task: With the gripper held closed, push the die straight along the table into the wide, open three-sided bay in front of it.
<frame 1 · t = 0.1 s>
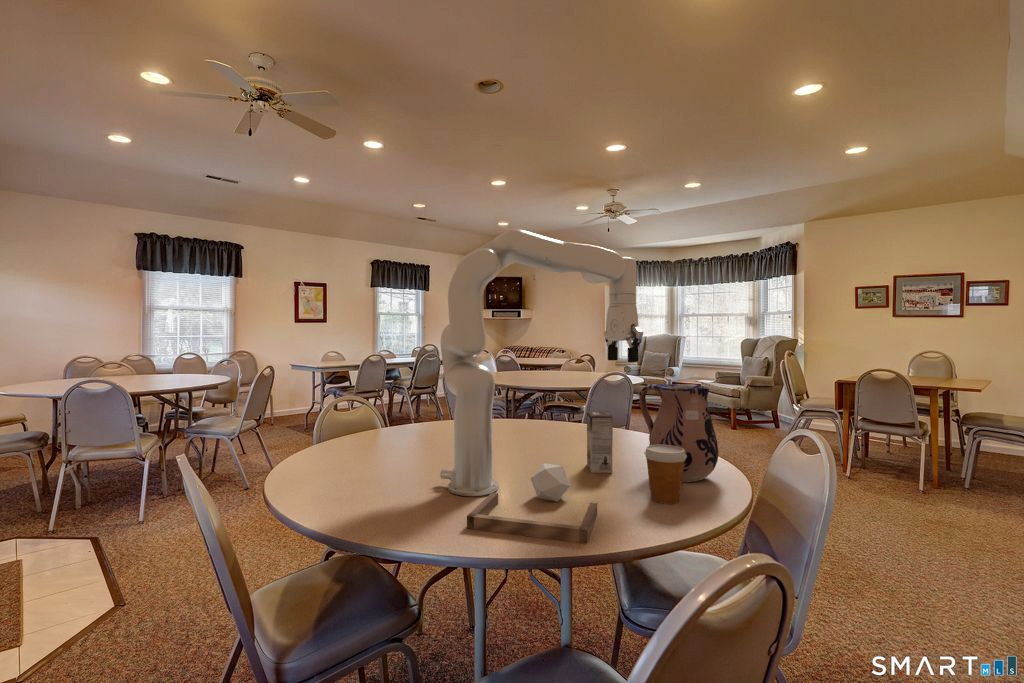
hand: (622, 361, 139), 31 cm above the table, tool pointing down, fingers open, 9 cm apart
disposable coffee cup: (665, 500, 114), on the table
coffee box: (599, 469, 140), on the table
bay: (534, 521, 101), on the table
ceramic pitcher: (676, 477, 132), on the table
die: (550, 499, 115), on the table
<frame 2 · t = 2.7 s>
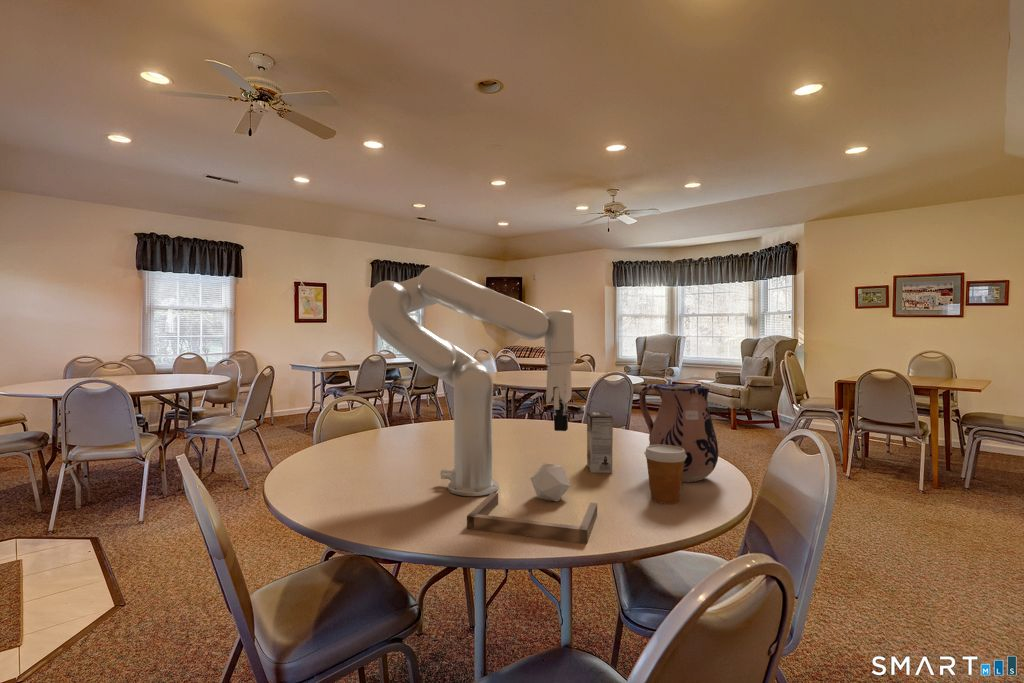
hand: (561, 430, 124), 14 cm above the table, tool pointing down, fingers closed
nothing on the table moved.
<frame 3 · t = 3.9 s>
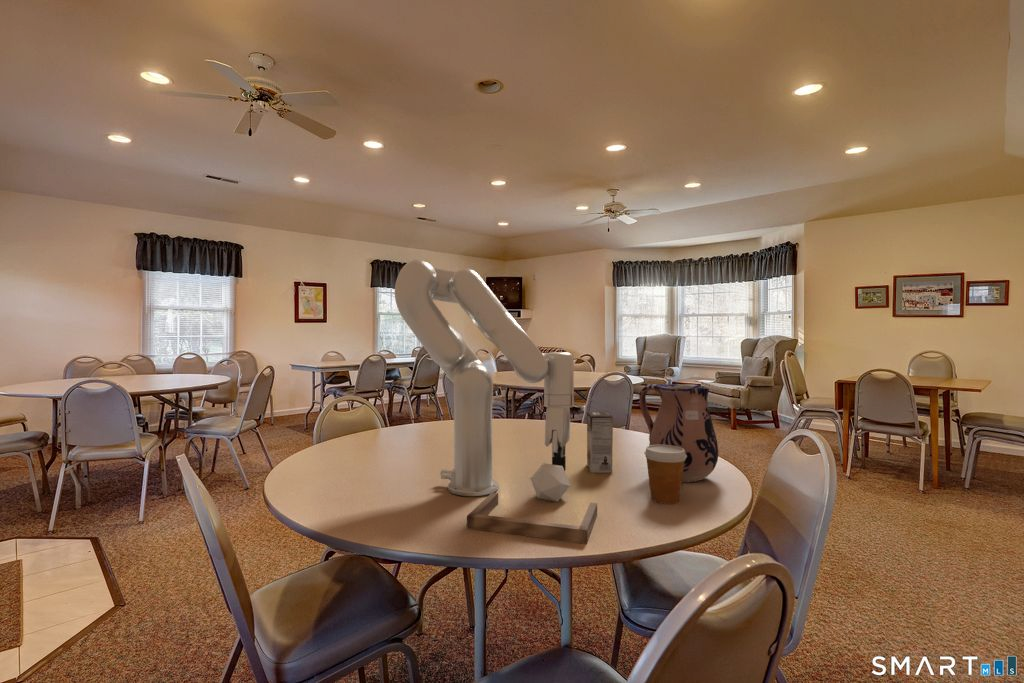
hand: (558, 471, 124), 4 cm above the table, tool pointing down, fingers closed
nothing on the table moved.
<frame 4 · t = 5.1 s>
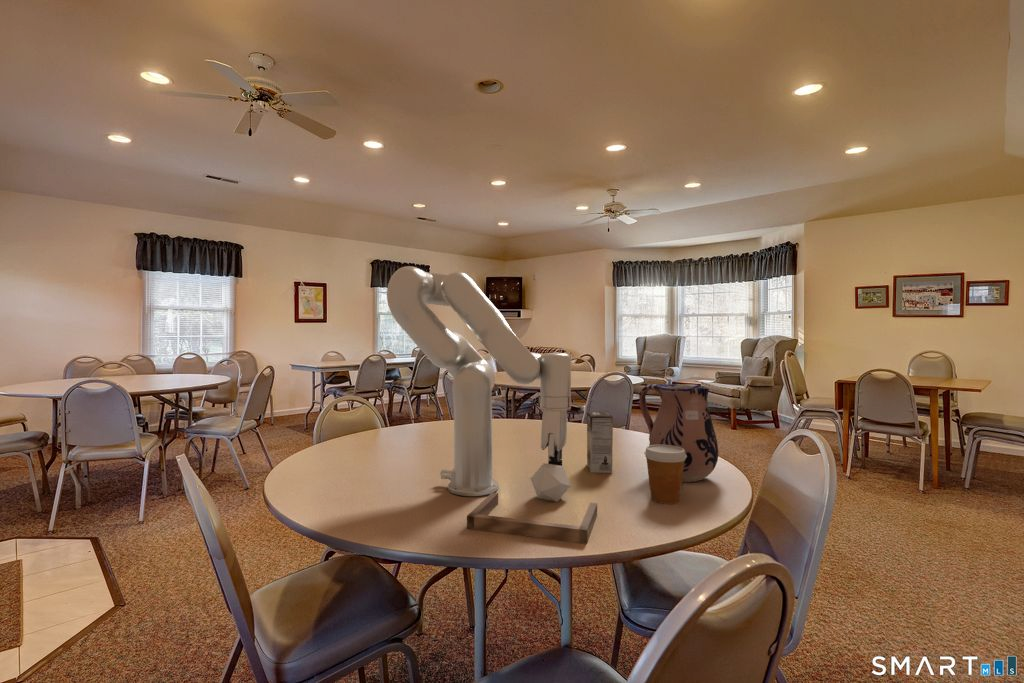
hand: (555, 476, 121), 4 cm above the table, tool pointing down, fingers closed
die: (550, 499, 115), on the table, touching gripper
everything else where it was.
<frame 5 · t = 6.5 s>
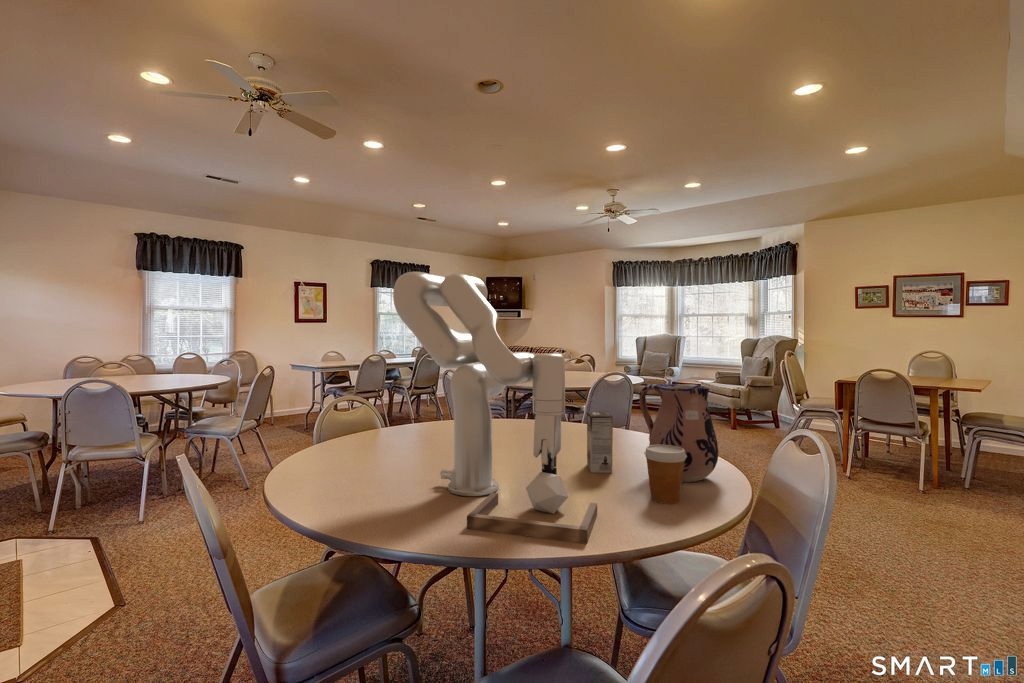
hand: (549, 485, 113), 4 cm above the table, tool pointing down, fingers closed
die: (547, 510, 107), on the table, touching gripper
everything else where it was.
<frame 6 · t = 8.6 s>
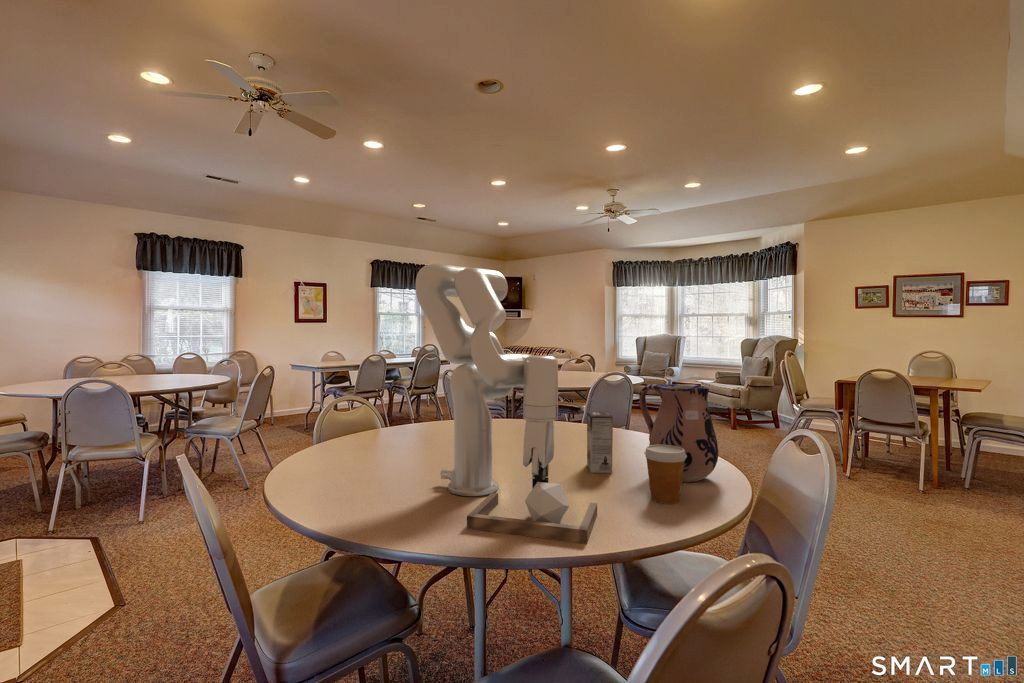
hand: (540, 495, 106), 4 cm above the table, tool pointing down, fingers closed
die: (547, 522, 100), on the table, touching gripper
everything else where it was.
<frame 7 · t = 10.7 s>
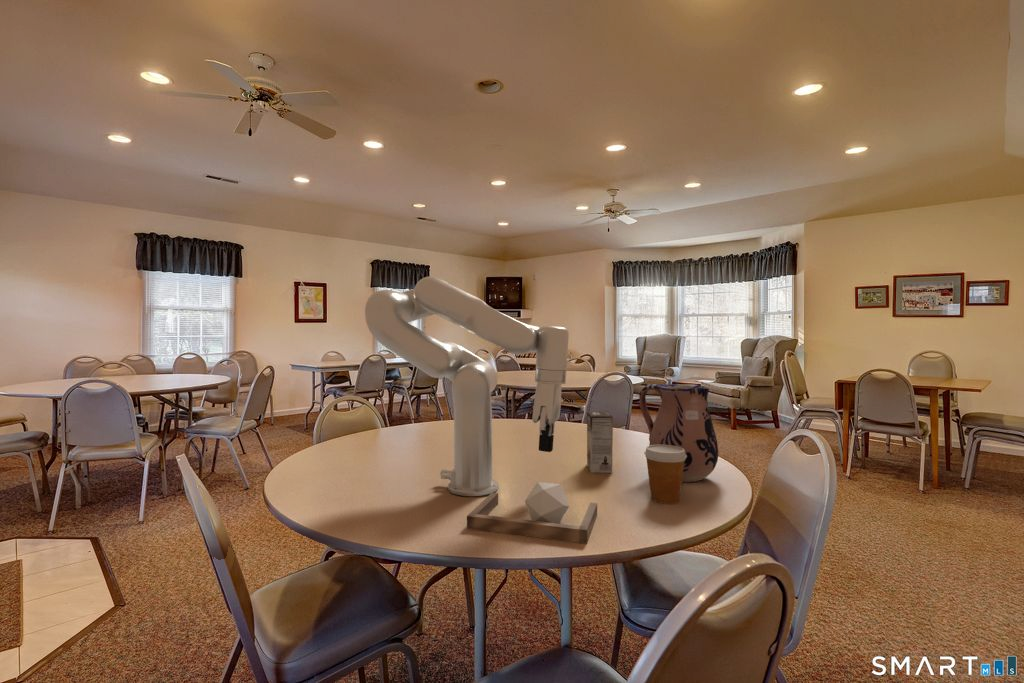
hand: (545, 450, 119), 10 cm above the table, tool pointing down, fingers closed
die: (547, 522, 100), on the table
everything else where it was.
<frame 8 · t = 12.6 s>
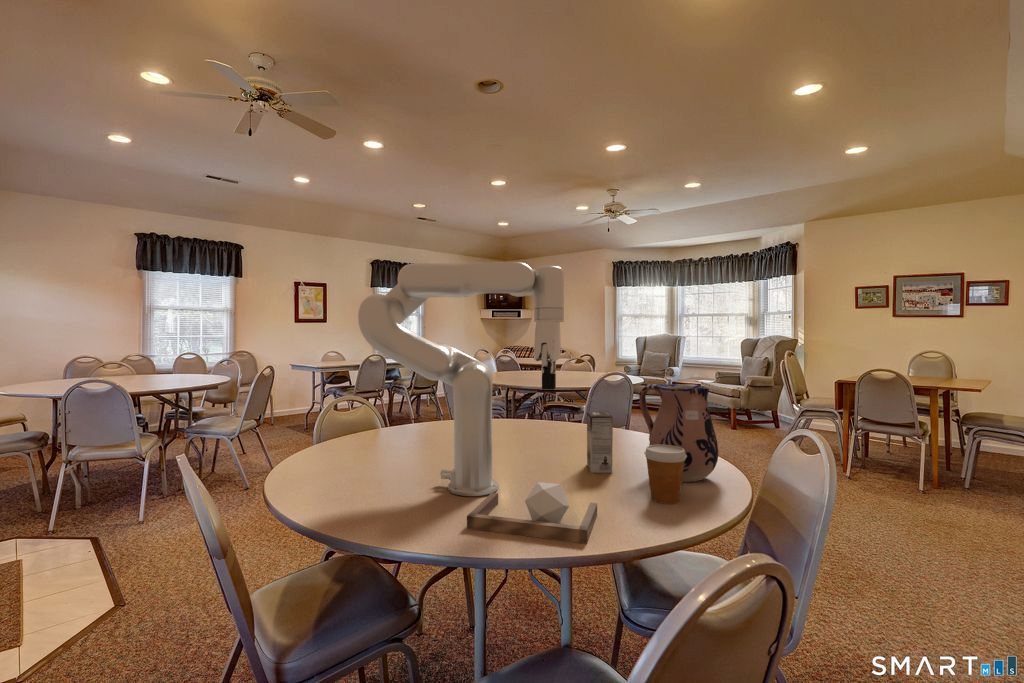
hand: (548, 388, 122), 25 cm above the table, tool pointing down, fingers closed
nothing on the table moved.
at the end: die inside the target area on the bay (2.9 cm from its centre), point 0.0 cm above the bay's base; die tilted 0° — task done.
